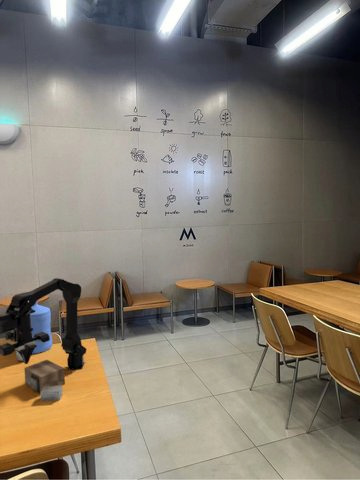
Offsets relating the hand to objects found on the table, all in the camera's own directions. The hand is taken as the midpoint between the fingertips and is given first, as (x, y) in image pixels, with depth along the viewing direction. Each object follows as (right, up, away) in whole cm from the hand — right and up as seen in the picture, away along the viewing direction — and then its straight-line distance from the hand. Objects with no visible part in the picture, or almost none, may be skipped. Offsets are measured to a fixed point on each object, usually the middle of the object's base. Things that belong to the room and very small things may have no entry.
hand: (26, 363), depth 134 cm
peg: (+5, -10, +3) cm, 12 cm away
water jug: (-15, -9, +46) cm, 49 cm away
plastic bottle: (-16, -10, +32) cm, 37 cm away
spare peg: (+12, -12, -5) cm, 18 cm away
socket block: (+5, -11, +7) cm, 14 cm away
